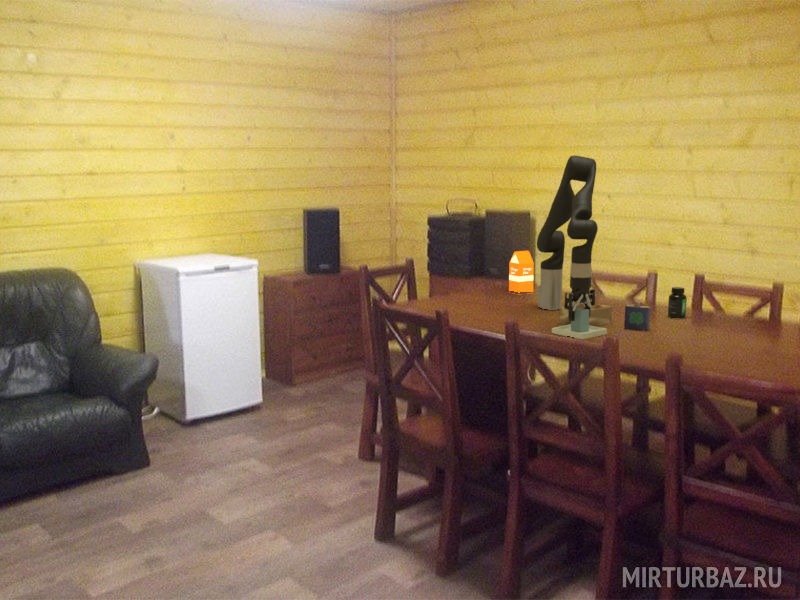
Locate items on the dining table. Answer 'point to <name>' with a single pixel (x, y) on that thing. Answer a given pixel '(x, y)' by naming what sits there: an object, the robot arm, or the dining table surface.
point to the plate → (567, 331)
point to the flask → (637, 317)
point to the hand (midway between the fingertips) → (579, 319)
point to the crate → (597, 315)
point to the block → (580, 320)
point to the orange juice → (521, 272)
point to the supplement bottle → (677, 303)
